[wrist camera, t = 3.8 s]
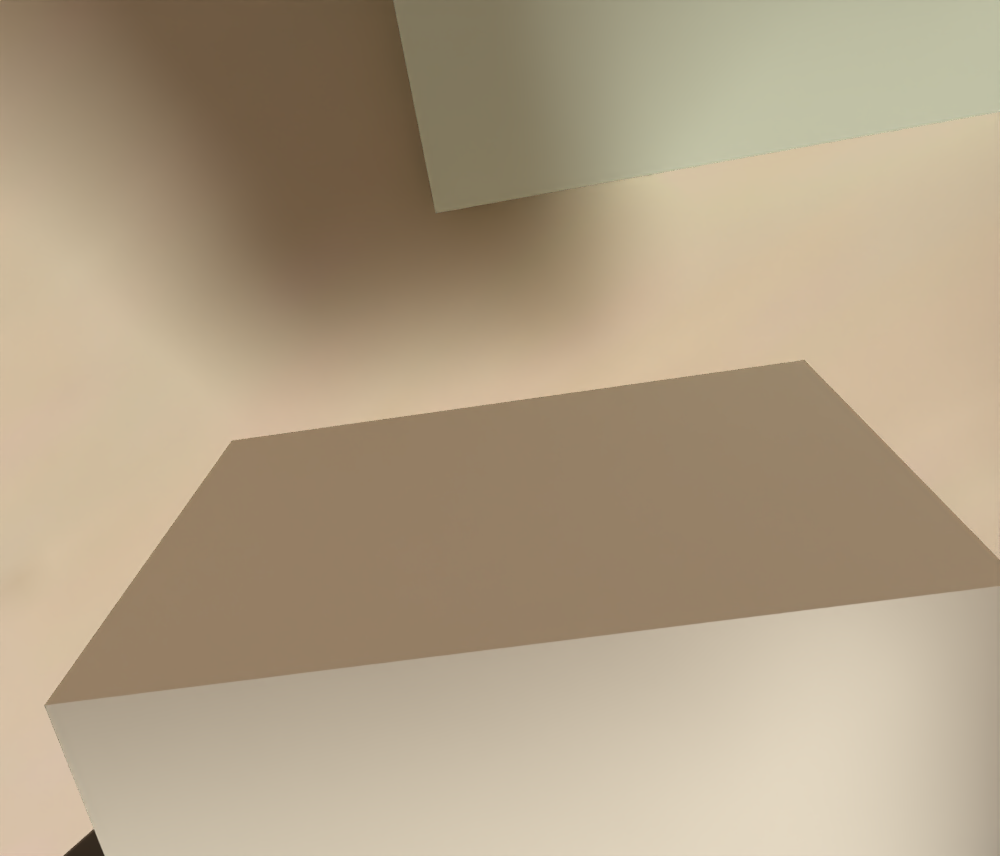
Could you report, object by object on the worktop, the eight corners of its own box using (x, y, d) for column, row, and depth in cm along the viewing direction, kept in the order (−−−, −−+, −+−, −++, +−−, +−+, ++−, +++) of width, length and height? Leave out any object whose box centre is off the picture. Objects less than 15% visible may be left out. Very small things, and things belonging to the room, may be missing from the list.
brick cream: (820, 814, 11) (985, 1213, 7) (350, 866, 11) (271, 1273, 7) (804, 360, 9) (1022, 583, 5) (231, 440, 9) (44, 706, 5)
